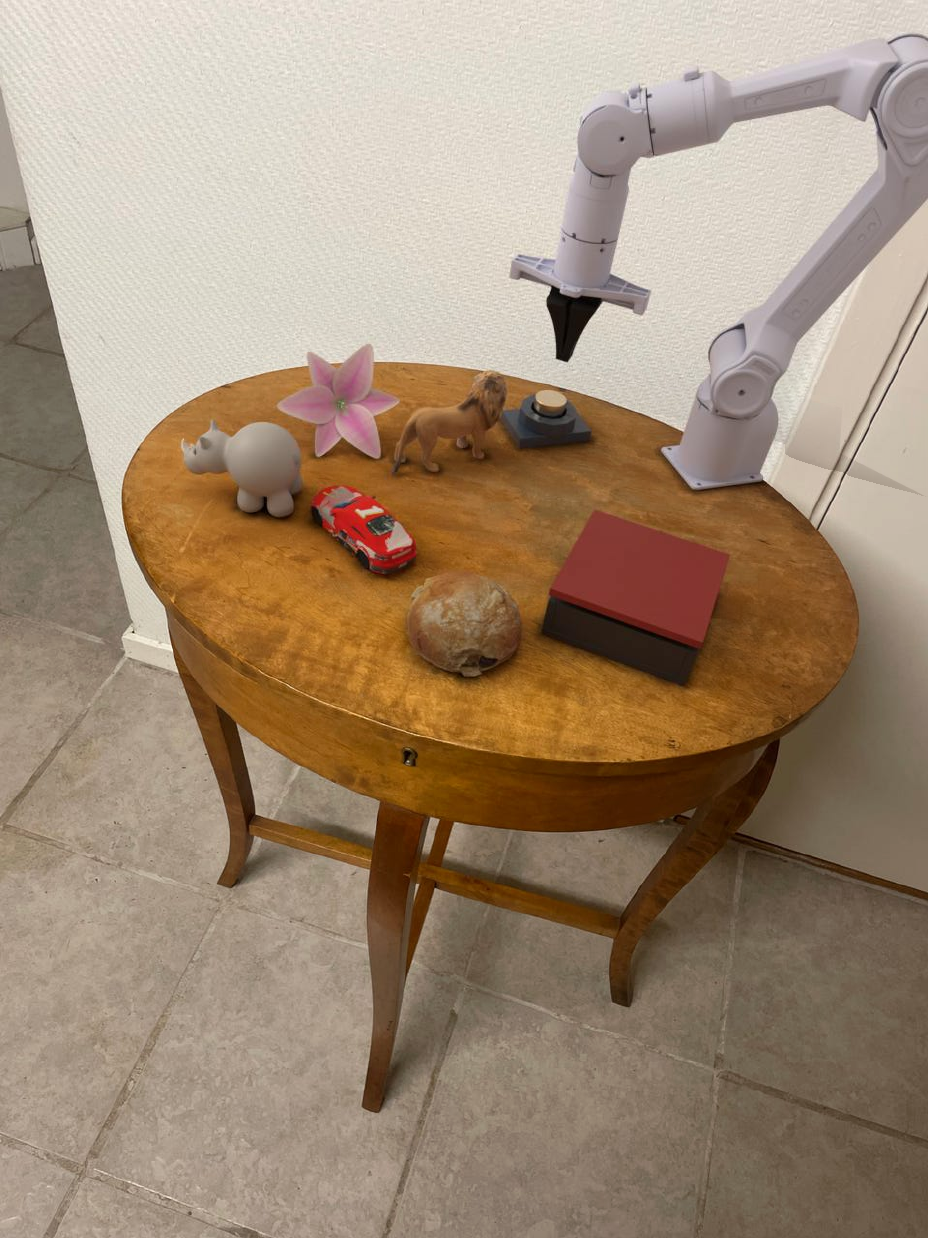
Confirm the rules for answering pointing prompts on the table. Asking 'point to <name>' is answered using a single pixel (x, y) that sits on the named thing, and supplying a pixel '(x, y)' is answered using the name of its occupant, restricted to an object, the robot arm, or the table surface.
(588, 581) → the lid
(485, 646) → the bread roll
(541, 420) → the control block
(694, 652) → the black open box
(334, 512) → the race car
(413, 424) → the lion figurine
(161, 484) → the table surface
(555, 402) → the button
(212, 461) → the round bodied animal figurine
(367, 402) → the lily
